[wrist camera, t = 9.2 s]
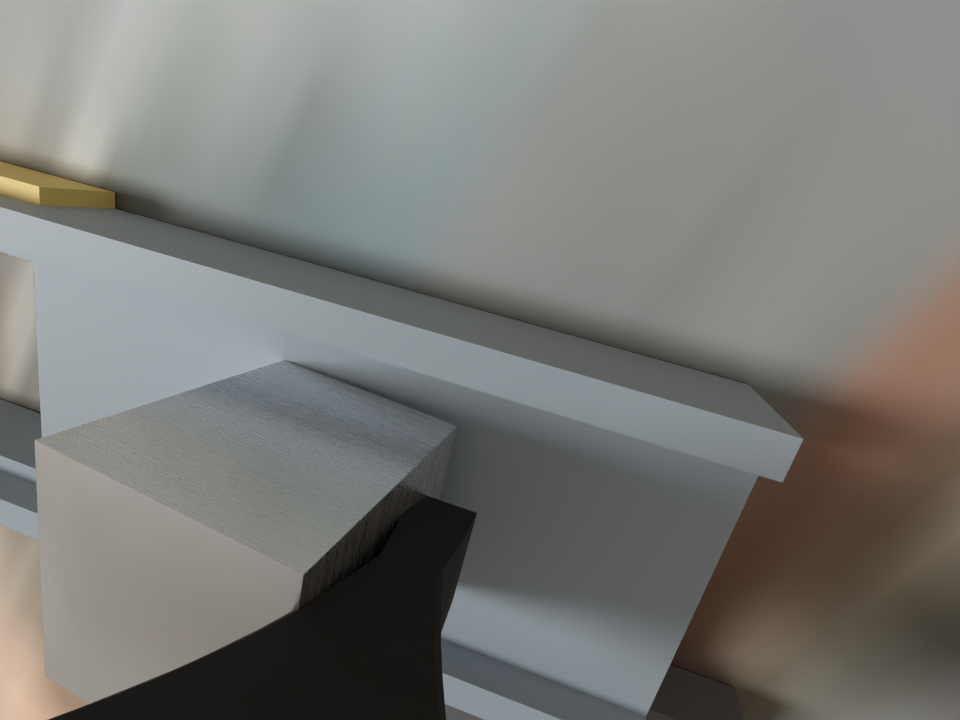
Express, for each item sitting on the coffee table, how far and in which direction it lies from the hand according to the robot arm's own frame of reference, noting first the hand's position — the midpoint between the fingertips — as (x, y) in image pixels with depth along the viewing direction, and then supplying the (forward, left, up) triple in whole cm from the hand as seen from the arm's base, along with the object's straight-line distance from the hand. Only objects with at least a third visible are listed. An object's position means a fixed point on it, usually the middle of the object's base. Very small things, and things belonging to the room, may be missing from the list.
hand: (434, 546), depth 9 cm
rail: (0, +7, -3) cm, 8 cm away
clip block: (0, +2, -1) cm, 3 cm away
